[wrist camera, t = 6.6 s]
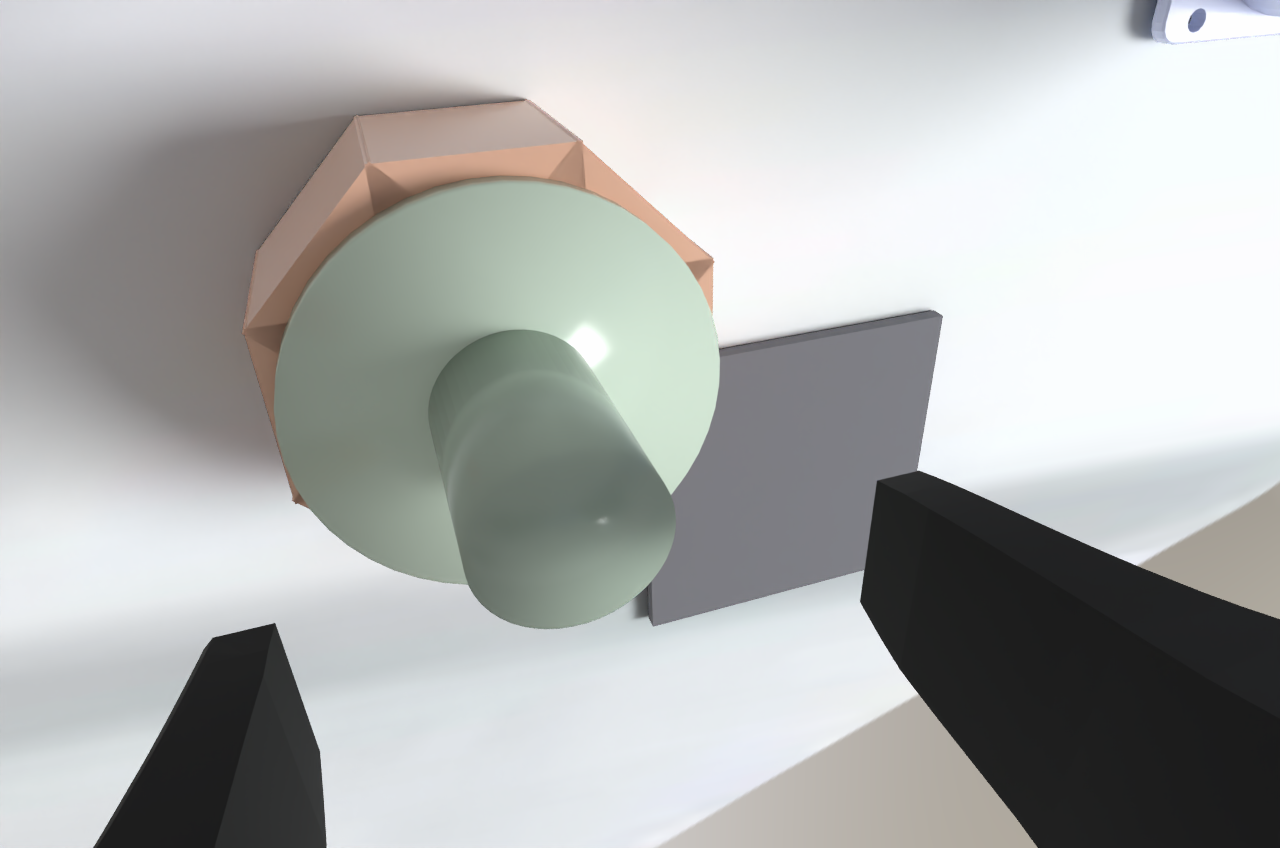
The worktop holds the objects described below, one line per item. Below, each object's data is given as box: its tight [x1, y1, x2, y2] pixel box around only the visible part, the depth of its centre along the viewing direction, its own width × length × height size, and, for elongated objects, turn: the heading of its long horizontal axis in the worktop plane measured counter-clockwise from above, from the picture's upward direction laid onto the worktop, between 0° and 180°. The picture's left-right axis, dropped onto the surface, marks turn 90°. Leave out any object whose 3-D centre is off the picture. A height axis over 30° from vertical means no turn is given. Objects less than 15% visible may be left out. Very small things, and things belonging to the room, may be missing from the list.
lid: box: [274, 175, 720, 629], centre depth 13 cm, size 8×8×5 cm
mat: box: [648, 310, 943, 626], centre depth 24 cm, size 8×8×1 cm
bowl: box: [242, 99, 714, 509], centre depth 17 cm, size 8×8×4 cm
